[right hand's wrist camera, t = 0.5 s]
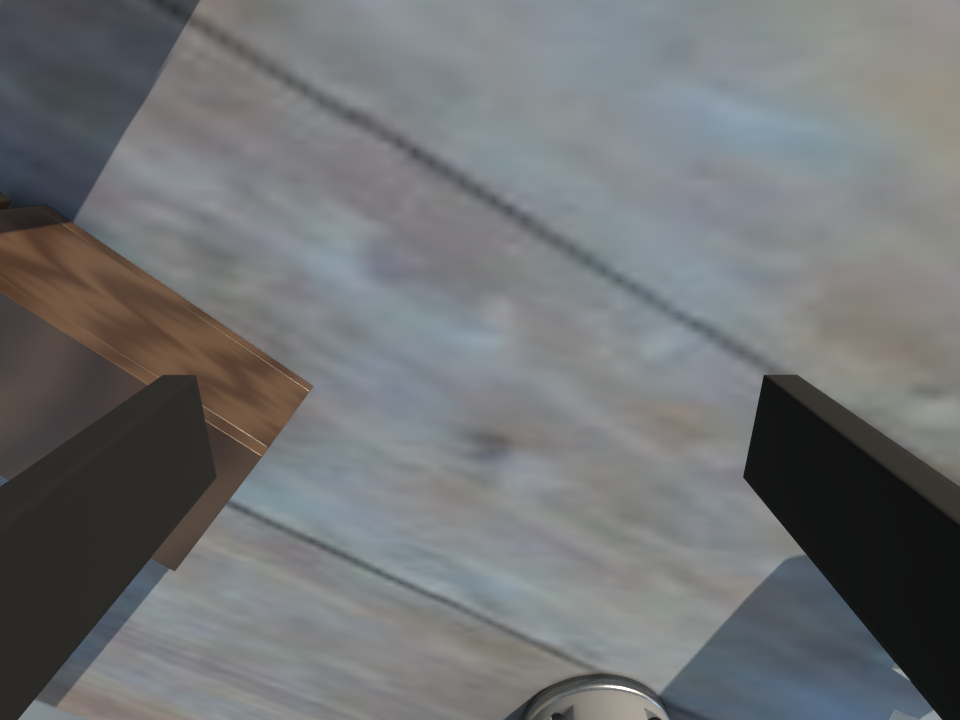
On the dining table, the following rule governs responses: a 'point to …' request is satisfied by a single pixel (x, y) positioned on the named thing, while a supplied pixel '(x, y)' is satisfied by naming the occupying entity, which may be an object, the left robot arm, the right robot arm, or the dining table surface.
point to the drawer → (4, 202)
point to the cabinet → (121, 358)
